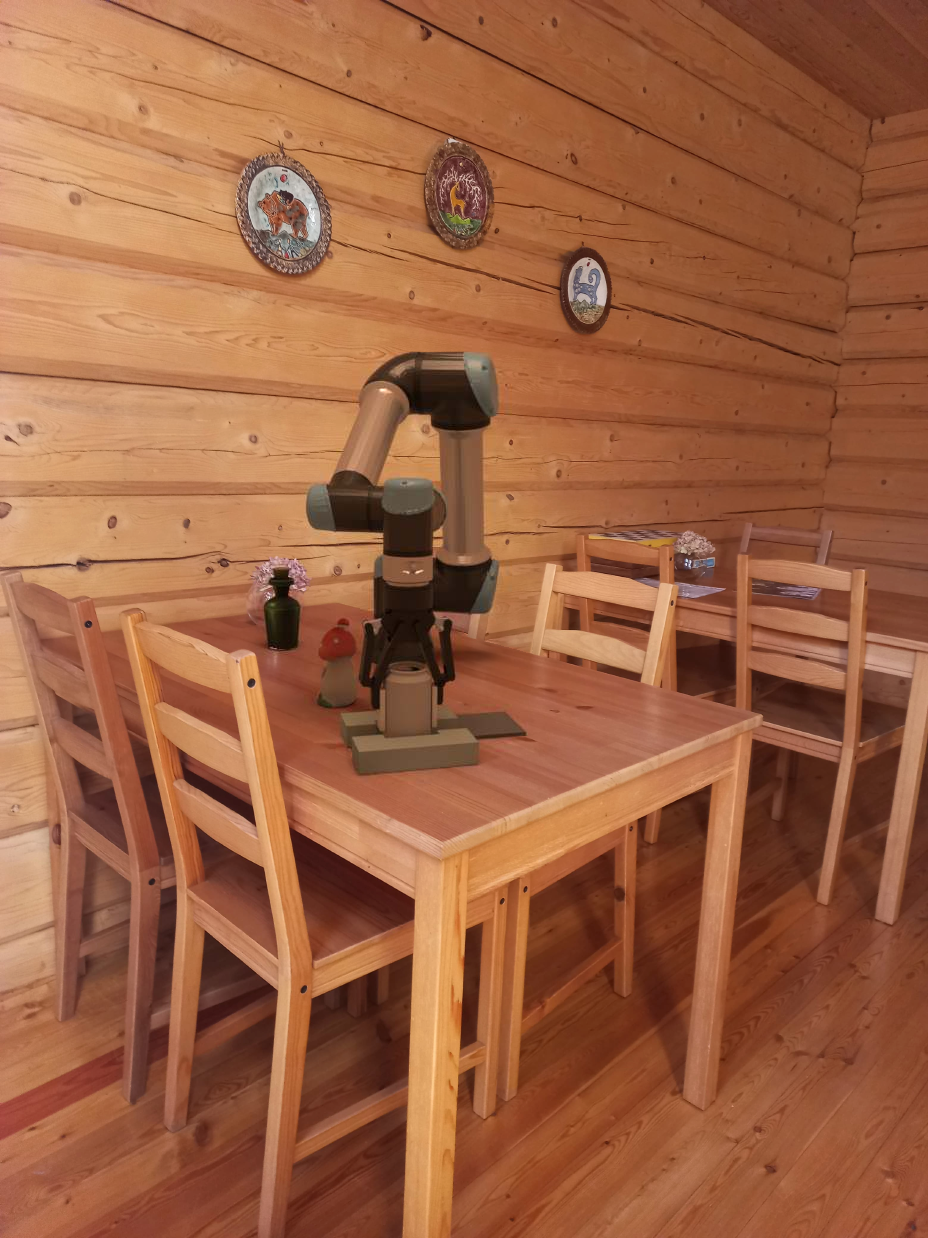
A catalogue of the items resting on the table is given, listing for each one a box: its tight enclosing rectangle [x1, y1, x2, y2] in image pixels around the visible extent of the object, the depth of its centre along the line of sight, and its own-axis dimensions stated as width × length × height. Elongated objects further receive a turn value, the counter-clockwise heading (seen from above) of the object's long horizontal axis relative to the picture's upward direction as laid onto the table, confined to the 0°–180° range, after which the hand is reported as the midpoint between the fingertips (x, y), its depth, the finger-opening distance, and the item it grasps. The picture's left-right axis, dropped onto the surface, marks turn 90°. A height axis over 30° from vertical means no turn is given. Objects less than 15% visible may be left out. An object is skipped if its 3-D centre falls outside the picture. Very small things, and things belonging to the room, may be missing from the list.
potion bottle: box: [263, 566, 301, 649], centre depth 198 cm, size 8×8×18 cm
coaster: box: [455, 710, 527, 740], centre depth 150 cm, size 11×11×1 cm
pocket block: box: [339, 705, 480, 776], centre depth 139 cm, size 18×18×4 cm
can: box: [382, 661, 433, 738], centre depth 138 cm, size 8×8×12 cm
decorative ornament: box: [316, 618, 358, 709], centre depth 160 cm, size 9×7×15 cm
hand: (406, 726), depth 138 cm, fingers closed on can, 7 cm apart
